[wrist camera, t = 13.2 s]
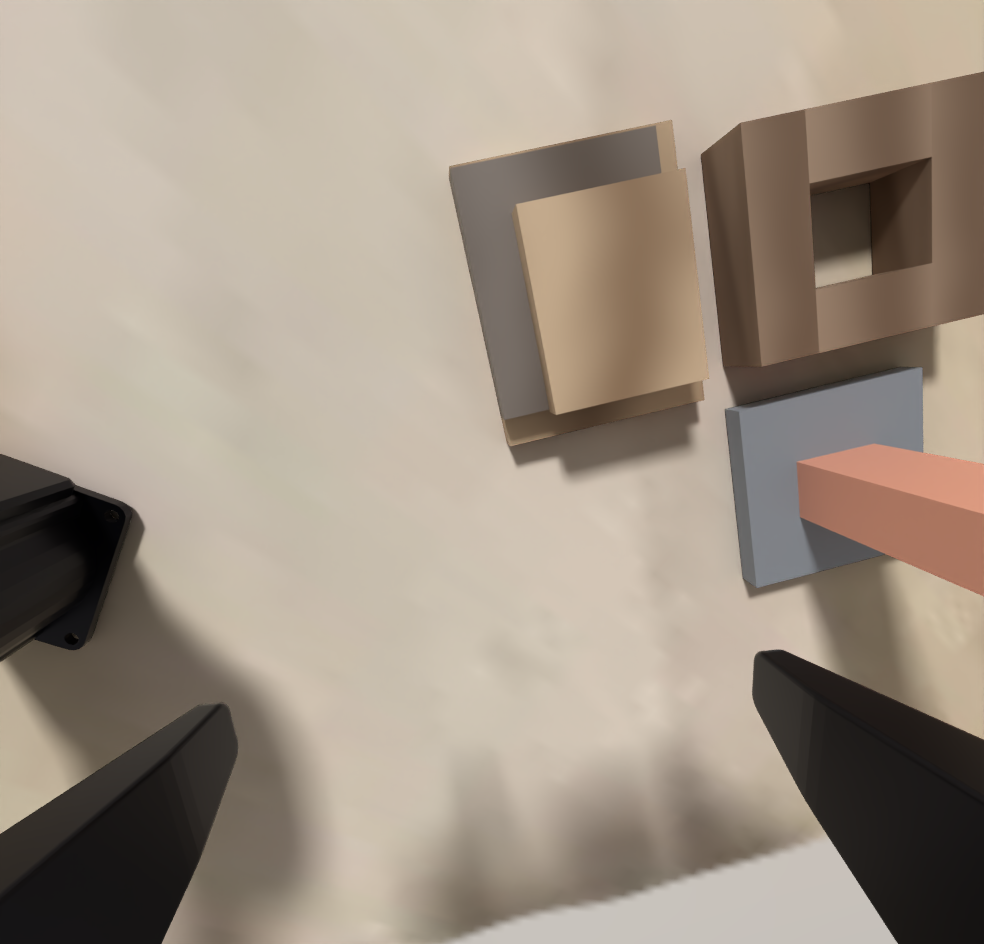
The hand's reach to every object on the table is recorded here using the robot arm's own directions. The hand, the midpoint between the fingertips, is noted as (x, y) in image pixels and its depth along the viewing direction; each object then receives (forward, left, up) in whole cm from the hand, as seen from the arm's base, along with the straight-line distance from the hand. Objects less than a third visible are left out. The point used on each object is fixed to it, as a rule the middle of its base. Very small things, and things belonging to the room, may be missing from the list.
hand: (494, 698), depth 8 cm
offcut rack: (+12, -5, -13) cm, 18 cm away
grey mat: (+7, -14, -13) cm, 20 cm away
